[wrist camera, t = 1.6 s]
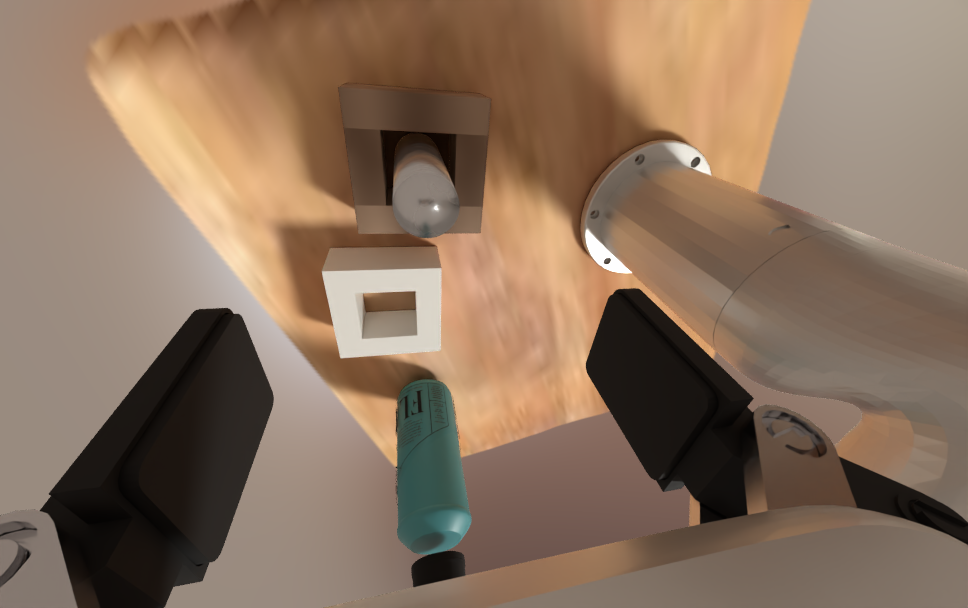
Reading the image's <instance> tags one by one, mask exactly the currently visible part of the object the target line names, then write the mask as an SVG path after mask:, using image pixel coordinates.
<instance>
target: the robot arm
mask: <svg viewBox="0 0 968 608" xmlns="http://www.w3.org/2000/svg"><path fill="white" fill-rule="evenodd" d="M580 228H581V238H582V241H583V245H584V248H585V249H586V251H587V252H588V254H589V256H590V257H591V258H592V259H593V260H594V261H595V262H596V263H597V264H598V265H600V266H601V267H603V268H605V269H607V270H610V271H612V272H618V273H632V274H633V275H634V276H635V277H636V278H638V279H639V280H640V281H641V282H642V283H643V284H644V285H645V286H646V287H647V288H648V289H649V290H650V291H651V292H653V293H654V294H655V295H656V296H657V297H658V298H659V299H660V300H661V301H662V302H663V303H664V304H665V305H667V306H668V307H669V308H670V309H671V310H672V311H673V312H674V313H675V314H676V315H677V316H678V317H679V318H681V319H682V320H683V321H684V322H685V323H686V324H687V325H688V326H689V327H690V328H691V329H692V330H693V331H695V332H696V333H697V334H698V335H699V336H700V337H701V338H702V339H703V340H704V341H705V342H706V343H707V344H709V345H710V346H711V347H712V348H713V349H714V350H715V351H716V352H717V353H718V354H720V355H721V356H722V357H723V358H724V359H725V360H726V361H727V362H728V363H730V364H731V365H732V366H733V367H734V368H735V369H736V370H738V371H739V372H740V373H741V374H743V375H744V376H746V377H747V378H749V379H751V380H752V381H754V382H756V383H758V384H760V385H762V386H765V387H767V388H770V389H773V390H776V391H780V392H784V393H789V394H794V395H801V396H808V397H817V398H826V399H834V400H839V401H844V402H847V403H850V404H853V405H855V406H856V407H858V408H859V409H860V410H861V412H862V418H861V420H860V422H859V423H858V424H857V425H856V426H855V427H854V428H853V429H852V430H850V432H848V433H847V434H846V435H845V436H843V438H842V439H841V441H839V442H838V443H837V444H835V445H833V443H832V441H831V440H830V438H829V437H828V436H827V435H826V434H825V433H824V432H823V431H822V430H821V429H820V428H819V427H817V426H816V425H815V424H814V423H813V422H811V421H810V420H808V419H806V418H805V417H803V416H801V415H800V414H798V413H796V412H794V411H791V410H789V409H787V408H783V407H780V406H776V405H763V406H759V407H758V408H757V409H755V411H754V412H751V411H750V409H748V407H747V406H748V405H749V404H750V402H751V401H752V400H753V397H752V396H751V395H750V394H749V393H747V391H746V390H745V389H743V388H742V387H741V386H740V385H739V384H738V383H737V382H736V381H735V380H734V379H733V378H732V377H731V376H730V375H729V374H728V373H727V372H726V371H725V370H724V369H723V368H722V367H721V366H719V365H718V364H717V363H716V362H715V361H714V360H713V359H712V358H711V357H710V356H709V355H708V354H707V353H706V352H705V351H704V350H703V349H702V348H701V347H700V346H699V345H698V344H697V343H695V342H694V341H693V340H692V339H691V338H690V337H689V336H688V335H687V334H686V333H685V332H684V331H683V330H682V329H681V328H680V327H679V326H678V325H677V324H676V323H675V322H674V321H673V320H671V319H670V318H669V317H668V316H667V315H666V314H665V313H664V312H663V311H662V310H661V309H660V308H659V307H658V306H657V305H656V304H655V303H654V302H653V301H652V300H651V299H650V298H648V297H647V296H646V295H645V294H644V293H643V292H642V291H641V290H640V289H636V288H633V289H618V290H616V291H615V292H614V294H613V295H611V296H610V297H609V298H608V301H607V304H606V307H605V309H604V312H603V315H602V318H601V321H600V324H599V327H598V330H597V333H596V335H595V338H594V341H593V344H592V347H591V350H590V353H589V356H588V359H587V361H586V370H587V373H588V375H589V377H590V379H591V380H592V382H593V384H594V385H595V387H596V389H597V390H598V392H599V394H600V395H601V397H602V399H603V400H604V402H605V404H606V405H607V407H608V409H609V410H610V412H611V414H612V415H613V417H614V419H615V420H616V422H617V424H618V425H619V427H620V429H621V430H622V432H623V433H624V435H625V437H626V439H627V440H628V442H629V444H630V445H631V447H632V449H633V450H634V452H635V453H636V455H637V457H638V459H639V460H640V462H641V463H642V465H643V467H644V469H645V470H646V472H647V473H648V475H649V476H650V477H651V478H652V479H654V480H656V481H657V482H658V484H659V486H660V487H661V489H662V491H663V492H665V491H671V490H675V489H681V488H682V487H683V486H684V485H685V486H686V487H687V489H688V490H689V492H690V520H689V527H685V528H681V529H676V530H671V531H667V532H662V533H658V534H653V535H648V536H644V537H639V538H635V539H630V540H626V541H621V542H616V543H611V544H607V545H602V546H598V547H593V548H589V549H584V550H580V551H575V552H571V553H566V554H561V555H558V556H553V557H548V558H544V559H539V560H534V561H530V562H525V563H521V564H517V565H512V566H507V567H503V568H499V569H494V570H489V571H485V572H481V573H476V574H471V575H467V576H462V577H458V578H453V579H449V580H444V581H440V582H435V583H431V584H426V585H422V586H418V587H413V588H409V589H405V590H400V591H396V592H392V593H387V594H382V595H378V596H374V597H369V598H365V599H360V600H356V601H351V602H347V603H343V604H339V605H334V606H329V607H325V608H968V270H965V269H962V268H959V267H956V266H953V265H950V264H947V263H944V262H941V261H939V260H935V259H933V258H930V257H927V256H924V255H921V254H918V253H915V252H912V251H909V250H907V249H904V248H901V247H898V246H896V245H893V244H890V243H888V242H885V241H882V240H880V239H877V238H874V237H872V236H869V235H867V234H864V233H861V232H859V231H856V230H853V229H851V228H848V227H845V226H843V225H840V224H838V223H835V222H832V221H829V220H827V219H824V218H822V217H819V216H816V215H814V214H811V213H809V212H806V211H803V210H801V209H798V208H795V207H793V206H790V205H787V204H785V203H782V202H780V201H777V200H774V199H772V198H769V197H766V196H764V195H761V194H758V193H756V192H753V191H751V190H748V189H745V188H743V187H740V186H737V185H735V184H732V183H729V182H727V181H724V180H722V179H719V178H716V177H714V176H712V174H711V170H710V166H709V164H708V162H707V160H706V158H705V157H704V155H703V154H702V153H701V152H700V151H699V150H698V149H696V148H695V147H693V146H691V145H689V144H687V143H683V142H680V141H676V140H665V139H661V140H655V141H650V142H647V143H644V144H641V145H639V146H636V147H634V148H633V149H631V150H629V151H628V152H626V153H624V154H623V155H621V156H620V157H619V158H618V159H616V160H615V161H614V162H613V163H612V164H610V165H609V167H608V168H607V169H606V170H605V171H604V172H603V173H602V174H601V175H600V177H599V178H598V180H597V181H596V183H595V184H594V186H593V187H592V189H591V191H590V193H589V195H588V197H587V199H586V201H585V205H584V208H583V211H582V216H581V225H580ZM273 400H274V397H273V392H272V390H271V387H270V384H269V382H268V379H267V377H266V375H265V372H264V370H263V367H262V365H261V362H260V360H259V358H258V355H257V352H256V350H255V347H254V345H253V343H252V340H251V338H250V335H249V333H248V330H247V328H246V325H245V323H244V320H243V318H242V316H241V315H239V314H233V312H232V311H231V310H230V309H228V308H219V309H217V308H216V309H199V310H196V311H194V312H193V313H192V314H191V316H190V317H189V318H188V320H187V321H186V322H185V323H184V324H183V326H182V327H181V328H180V329H179V331H178V332H177V333H176V335H175V336H174V337H173V338H172V339H171V341H170V342H169V343H168V345H167V346H166V347H165V348H164V350H163V351H162V352H161V353H160V355H159V356H158V357H157V358H156V360H155V361H154V362H153V363H152V365H151V366H150V367H149V368H148V370H147V371H146V372H145V373H144V375H143V376H142V377H141V378H140V380H139V381H138V382H137V384H136V385H135V386H134V387H133V389H132V390H131V391H130V392H129V394H128V395H127V396H126V397H125V399H124V400H123V401H122V402H121V404H120V405H119V406H118V407H117V409H116V410H115V411H114V412H113V414H112V415H111V416H110V417H109V419H108V420H107V421H106V422H105V424H104V425H103V426H102V428H101V429H100V430H99V431H98V433H97V434H96V435H95V436H94V438H93V439H92V440H91V441H90V443H89V444H88V445H87V446H86V448H85V449H84V450H83V451H82V453H81V454H80V455H79V456H78V458H77V459H76V460H75V461H74V463H73V464H72V465H71V466H70V468H69V469H68V470H67V472H66V473H65V474H64V475H63V477H62V478H61V479H60V480H59V482H58V483H57V484H56V485H55V487H54V488H53V489H52V490H51V492H50V493H49V495H51V497H50V498H49V499H48V501H47V502H46V503H45V505H44V506H43V507H42V508H41V510H40V511H38V510H21V511H14V512H10V513H7V514H3V515H0V608H164V607H165V605H166V602H167V600H168V598H169V596H170V593H171V591H172V589H173V587H175V586H180V585H185V584H190V583H195V582H200V581H203V578H204V575H205V573H206V570H207V567H208V565H209V562H213V561H215V560H216V559H217V558H218V556H219V555H220V553H221V551H222V548H223V546H224V543H225V540H226V537H227V534H228V532H229V529H230V526H231V523H232V520H233V517H234V515H235V512H236V509H237V506H238V503H239V500H240V498H241V495H242V492H243V489H244V486H245V484H246V481H247V478H248V475H249V472H250V469H251V467H252V464H253V461H254V458H255V455H256V452H257V450H258V447H259V444H260V441H261V438H262V436H263V433H264V430H265V427H266V424H267V421H268V418H269V416H270V413H271V410H272V407H273Z"/></svg>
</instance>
